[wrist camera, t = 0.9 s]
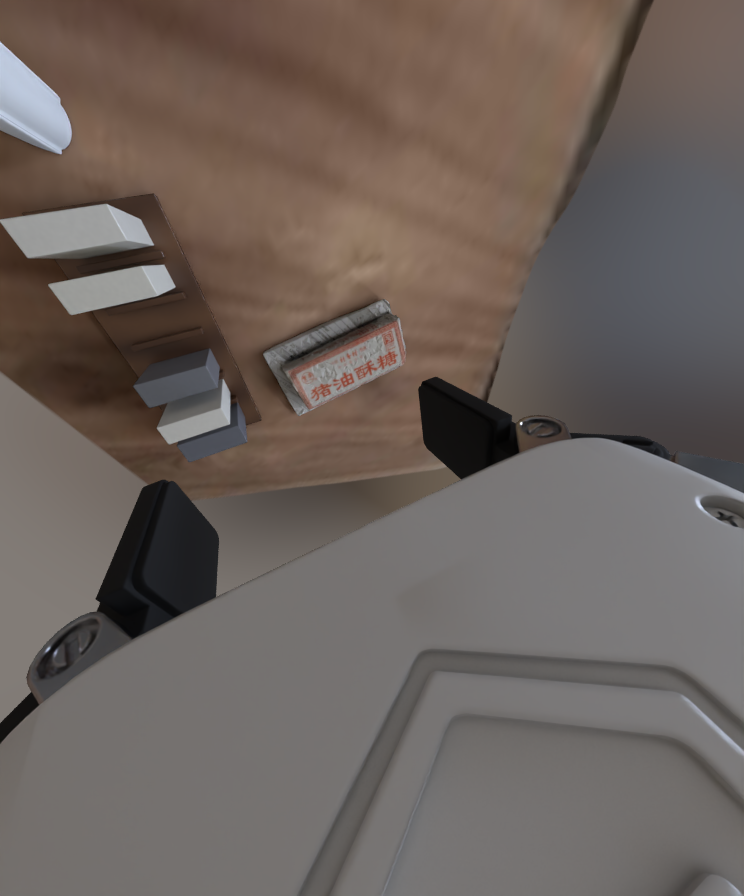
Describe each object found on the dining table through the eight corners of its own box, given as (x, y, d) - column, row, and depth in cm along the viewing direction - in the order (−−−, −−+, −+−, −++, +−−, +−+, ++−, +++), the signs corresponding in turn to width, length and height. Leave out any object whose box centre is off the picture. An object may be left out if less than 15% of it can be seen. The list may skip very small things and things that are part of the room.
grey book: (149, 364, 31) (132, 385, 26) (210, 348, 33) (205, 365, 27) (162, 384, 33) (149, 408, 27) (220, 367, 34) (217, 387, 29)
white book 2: (95, 278, 26) (46, 284, 19) (164, 264, 27) (141, 265, 21) (110, 301, 27) (70, 315, 20) (176, 287, 29) (158, 295, 22)
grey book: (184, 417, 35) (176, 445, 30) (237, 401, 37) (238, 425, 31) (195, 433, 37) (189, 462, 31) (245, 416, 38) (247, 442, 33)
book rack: (27, 214, 23) (12, 210, 22) (156, 195, 26) (150, 190, 24) (187, 441, 38) (185, 450, 36) (261, 417, 40) (262, 424, 38)
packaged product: (400, 299, 34) (415, 372, 41) (383, 295, 38) (400, 362, 44) (264, 361, 32) (302, 428, 38) (260, 350, 36) (296, 413, 42)
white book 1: (64, 231, 24) (-3, 219, 17) (140, 218, 25) (106, 203, 18) (82, 259, 25) (26, 258, 18) (154, 245, 27) (127, 240, 20)
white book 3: (171, 393, 33) (155, 428, 26) (223, 378, 35) (221, 407, 28) (181, 408, 35) (168, 444, 28) (230, 392, 36) (230, 424, 29)
